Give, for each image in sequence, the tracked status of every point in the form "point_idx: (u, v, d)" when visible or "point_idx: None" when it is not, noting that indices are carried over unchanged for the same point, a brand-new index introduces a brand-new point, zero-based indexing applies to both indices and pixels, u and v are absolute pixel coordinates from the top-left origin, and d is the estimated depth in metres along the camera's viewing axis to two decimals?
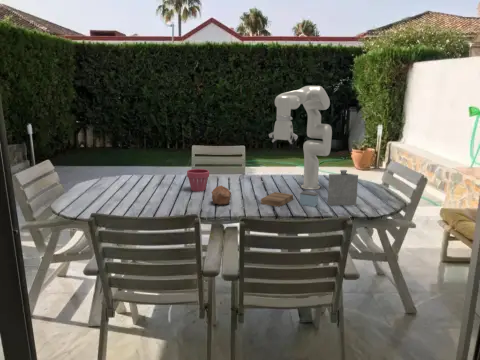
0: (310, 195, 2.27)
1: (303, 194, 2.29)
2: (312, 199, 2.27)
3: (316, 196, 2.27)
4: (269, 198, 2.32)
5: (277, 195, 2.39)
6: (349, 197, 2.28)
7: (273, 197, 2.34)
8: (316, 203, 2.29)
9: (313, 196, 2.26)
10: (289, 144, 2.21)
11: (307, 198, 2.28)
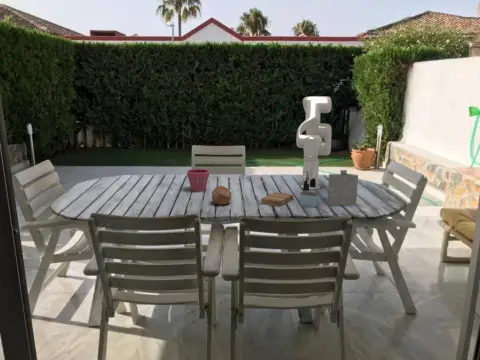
0: (310, 195, 2.27)
1: (303, 194, 2.29)
2: (312, 199, 2.27)
3: (316, 196, 2.27)
4: (269, 198, 2.32)
5: (277, 195, 2.39)
6: (349, 197, 2.28)
7: (273, 197, 2.34)
8: (316, 203, 2.29)
9: (313, 196, 2.26)
10: (315, 181, 2.31)
11: (307, 198, 2.28)
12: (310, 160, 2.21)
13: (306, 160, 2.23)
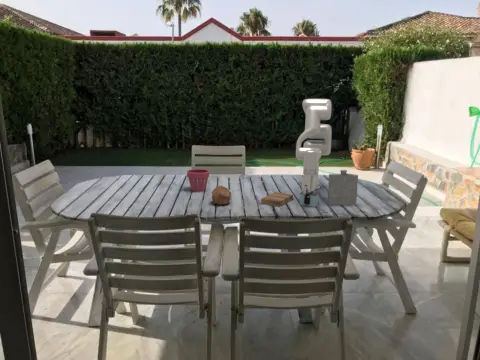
0: (310, 195, 2.27)
1: (303, 194, 2.29)
2: (312, 199, 2.27)
3: (316, 196, 2.27)
4: (269, 198, 2.32)
5: (277, 195, 2.39)
6: (349, 197, 2.28)
7: (273, 197, 2.34)
8: (316, 203, 2.29)
9: (313, 196, 2.26)
10: None
11: None
12: (309, 173, 2.23)
13: (305, 173, 2.25)
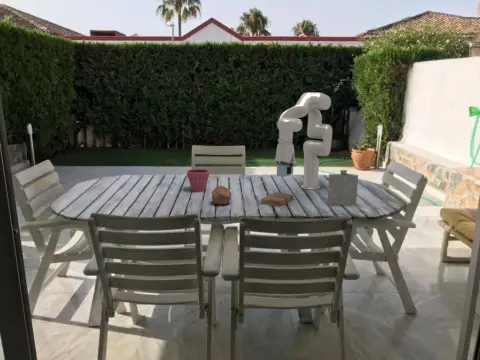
0: None
1: (286, 165, 2.27)
2: (291, 167, 2.32)
3: None
4: (269, 198, 2.32)
5: (277, 195, 2.39)
6: (349, 197, 2.28)
7: (273, 197, 2.34)
8: None
9: None
10: None
11: None
12: None
13: (289, 143, 2.25)
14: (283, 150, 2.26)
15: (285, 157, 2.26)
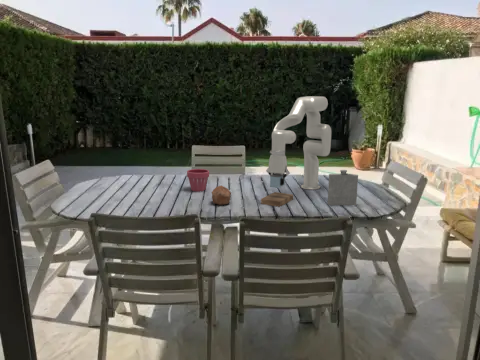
0: None
1: (279, 176, 2.30)
2: None
3: None
4: (269, 198, 2.32)
5: (277, 195, 2.39)
6: (349, 197, 2.28)
7: (273, 197, 2.34)
8: None
9: None
10: None
11: None
12: (284, 154, 2.30)
13: (283, 155, 2.28)
14: (276, 162, 2.29)
15: (279, 169, 2.29)
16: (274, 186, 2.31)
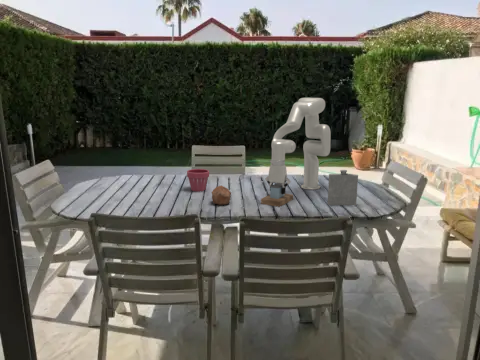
0: None
1: (279, 187, 2.32)
2: None
3: None
4: (269, 198, 2.32)
5: None
6: (349, 197, 2.28)
7: None
8: None
9: None
10: None
11: (281, 189, 2.34)
12: (284, 163, 2.31)
13: (283, 164, 2.29)
14: (276, 171, 2.30)
15: (278, 178, 2.30)
16: (274, 197, 2.32)
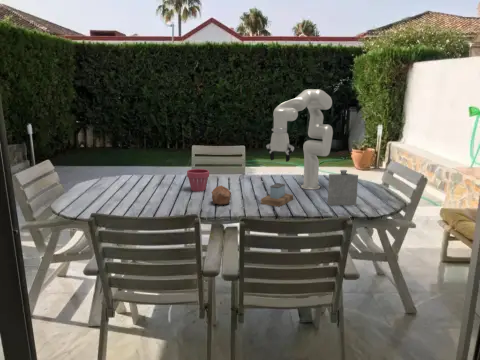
0: (282, 186, 2.35)
1: (279, 187, 2.32)
2: (283, 189, 2.37)
3: None
4: (269, 198, 2.32)
5: None
6: (349, 197, 2.28)
7: None
8: None
9: (284, 186, 2.37)
10: (273, 153, 2.36)
11: (281, 189, 2.34)
12: (286, 131, 2.29)
13: (285, 132, 2.27)
14: (278, 139, 2.28)
15: (281, 146, 2.28)
16: (274, 197, 2.32)
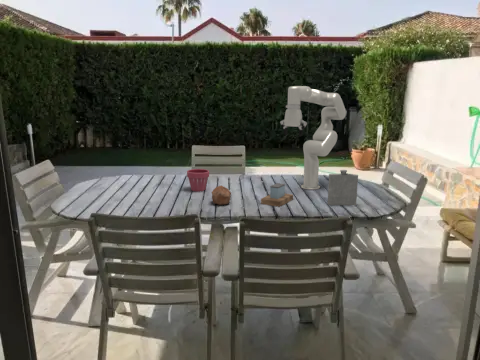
0: (282, 186, 2.35)
1: (279, 187, 2.32)
2: (283, 189, 2.37)
3: None
4: (269, 198, 2.32)
5: None
6: (349, 197, 2.28)
7: None
8: None
9: (284, 186, 2.37)
10: (287, 129, 2.51)
11: (281, 189, 2.34)
12: None
13: (298, 108, 2.41)
14: (292, 115, 2.42)
15: (294, 122, 2.42)
16: (274, 197, 2.32)
